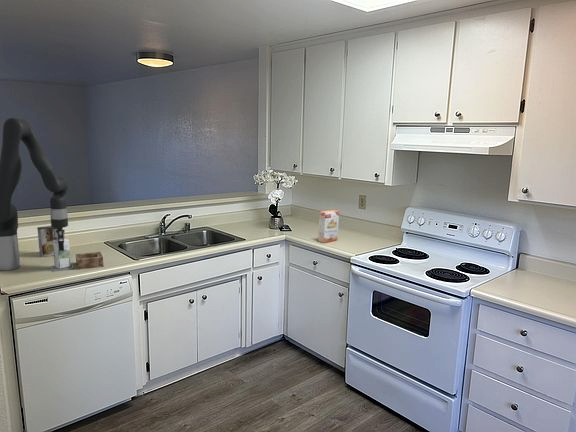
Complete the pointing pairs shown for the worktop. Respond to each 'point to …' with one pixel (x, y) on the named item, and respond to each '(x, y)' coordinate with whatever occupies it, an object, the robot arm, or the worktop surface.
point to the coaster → (62, 268)
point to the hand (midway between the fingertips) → (61, 248)
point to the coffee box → (46, 240)
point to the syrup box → (61, 254)
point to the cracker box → (328, 226)
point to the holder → (89, 260)
